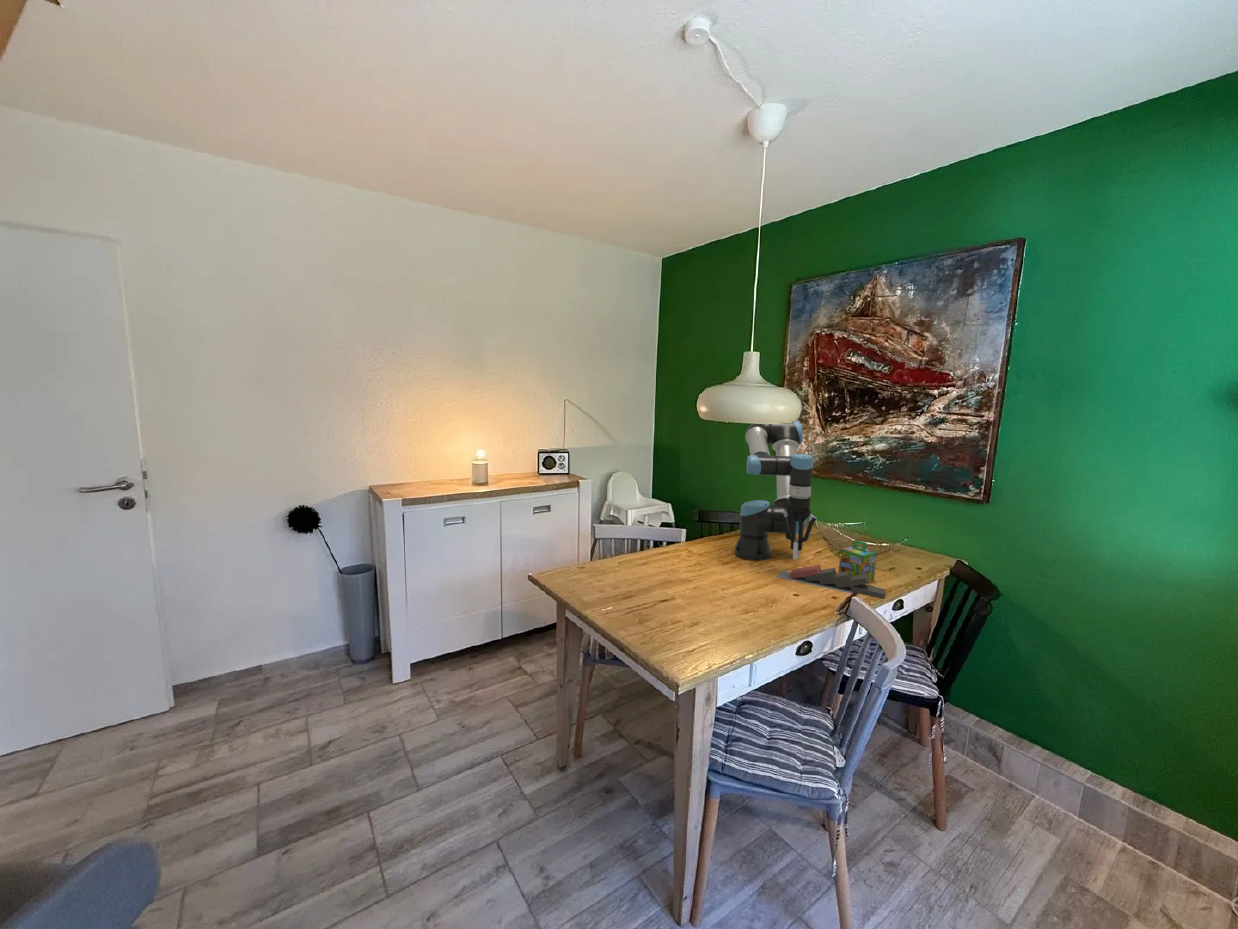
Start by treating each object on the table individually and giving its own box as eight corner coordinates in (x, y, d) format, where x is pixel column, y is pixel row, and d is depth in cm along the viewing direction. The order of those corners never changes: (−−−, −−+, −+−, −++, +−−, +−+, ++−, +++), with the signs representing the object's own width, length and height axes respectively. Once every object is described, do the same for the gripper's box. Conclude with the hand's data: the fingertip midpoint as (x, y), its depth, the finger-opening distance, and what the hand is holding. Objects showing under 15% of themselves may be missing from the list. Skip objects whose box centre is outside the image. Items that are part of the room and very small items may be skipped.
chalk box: (837, 578, 177) (840, 540, 175) (851, 573, 182) (854, 536, 180) (861, 587, 169) (864, 547, 167) (875, 581, 174) (878, 542, 172)
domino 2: (804, 576, 172) (831, 571, 167) (807, 572, 177) (834, 567, 171) (805, 581, 172) (833, 577, 167) (809, 577, 176) (836, 573, 171)
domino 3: (818, 579, 170) (847, 574, 164) (821, 575, 174) (850, 570, 168) (820, 585, 169) (849, 580, 164) (823, 580, 173) (852, 576, 168)
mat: (775, 577, 177) (775, 576, 177) (782, 571, 184) (782, 570, 183) (851, 594, 162) (852, 593, 162) (855, 587, 169) (855, 586, 169)
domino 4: (835, 582, 166) (865, 578, 161) (837, 578, 171) (867, 573, 165) (837, 588, 166) (867, 583, 161) (839, 583, 170) (869, 579, 165)
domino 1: (789, 573, 175) (816, 568, 170) (793, 569, 179) (819, 564, 174) (791, 578, 175) (818, 574, 169) (794, 574, 179) (821, 570, 174)
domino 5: (851, 586, 164) (884, 594, 158) (853, 581, 168) (885, 589, 162) (850, 591, 164) (883, 599, 158) (853, 586, 168) (885, 594, 162)
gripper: (778, 496, 173) (775, 557, 177) (816, 500, 166) (811, 564, 170) (784, 492, 179) (780, 552, 183) (820, 496, 172) (816, 558, 176)
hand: (795, 558), depth 176 cm, fingers closed
